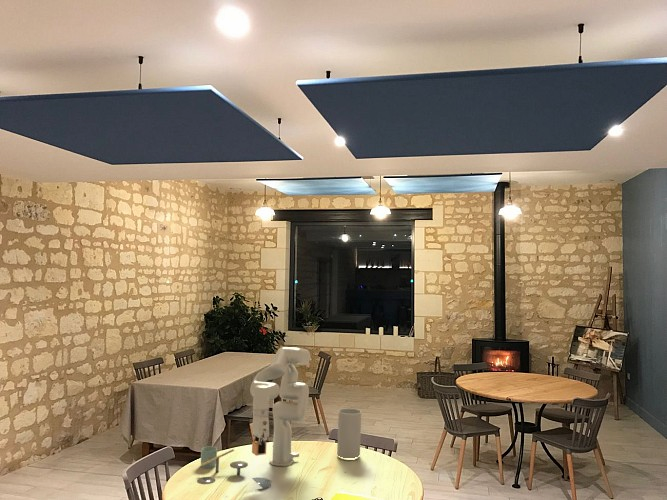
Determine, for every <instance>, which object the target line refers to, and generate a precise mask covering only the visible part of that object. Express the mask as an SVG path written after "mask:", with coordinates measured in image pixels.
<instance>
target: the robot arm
mask: <svg viewBox="0 0 667 500" xmlns="http://www.w3.org/2000/svg"><path fill="white" fill-rule="evenodd" d="M310 360H311V353H310V351H309V350H308V349H306V348H301V347H293V346H292V347H288V346H282V347H279V348H278V349H277V351H276V353H275V355H274V356H273V358H272V361H271V362H270V365H269V366H267V367H265V368H263V369H262V370H260V371H259V372H258V373H256V374H255V376H254V377H253V380H252V383H251V384H250V389H249V392H250V395H251V396H252V399H253V401H252V402H253V404H252V416H253V417H252V423H251V424H252V425H251V426H252V428H251V433H252V434H253V435H252V436H253V442H254V441H259V446H258V453H259V454H261V453H265V444H266V445H267V442H268V438H269V437H270V422H269V421H270V419H269V415H270V412H269V411H270V400H273V399H276V398H277V397H278V396H279V397H280V398H281V399H283V401H281V400H279V401H277V402H275V403H274V404H273V406H272V417H273V440H272V441H273V442H272V457H271V458H270V459H269V464H271V465H273V466H276V467H288V466H291V465H292V464H294V458H299V457H300V454H299V452H296V453H295V452H292V435H293V434H292V433H293V432H292V431H293V430H292V425H291V423H290V422H295V423H299V422H300V423H302V422H303V421H304V420H305V418H306V413H307V408H308V401H309V396H310V395H309V394H310V389H309V386H308V384H307V383H304V382H299V381H298V379H299V372H298V370H297V368H296V366H295V365H298V366H299V365H301V366H306V365H308V364H309V363H310ZM280 377H281V381H280V382H281V383H280V385H279V384H277V383H276V382H268V381H270V380H274V379H275V380H276V379H278V378H280ZM284 400H287V401H284ZM288 400H289V401H288ZM291 401H292V402H291ZM293 401H294V402H293ZM296 401H297V402H296ZM261 440H262V441H261Z"/></svg>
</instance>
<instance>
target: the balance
mask: <svg viewBox="0 0 667 500" xmlns="http://www.w3.org/2000/svg"><path fill="white" fill-rule="evenodd" d="M232 452H235V449H234V448H232V449H230V450H228V451H226V452H224V453H222V454H219V455H217V457H215V458H213V459H211V460H209V461H207V462H205V463H202V464H201V463H200V466H201V467H202V466H203V465H205V464H207V463H209V462H211V461H214V460H216V465H215V473H216V474H217V473H219V467H220V466H219V465H220V459H221V458H222V457H224V456H227V455H228V454H230V453H232ZM248 465H249V463H248V462H246V461H241V460H238V461H233V462H231V463H229V467H231V468H232V469H236V476H241V469H246V468H247V467H248ZM196 482H197V483H198V484H200V485H209V484H213V483H215V482H216V478H214V477H211V476H205V477H199V478H198V479H197V480H196Z"/></svg>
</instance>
